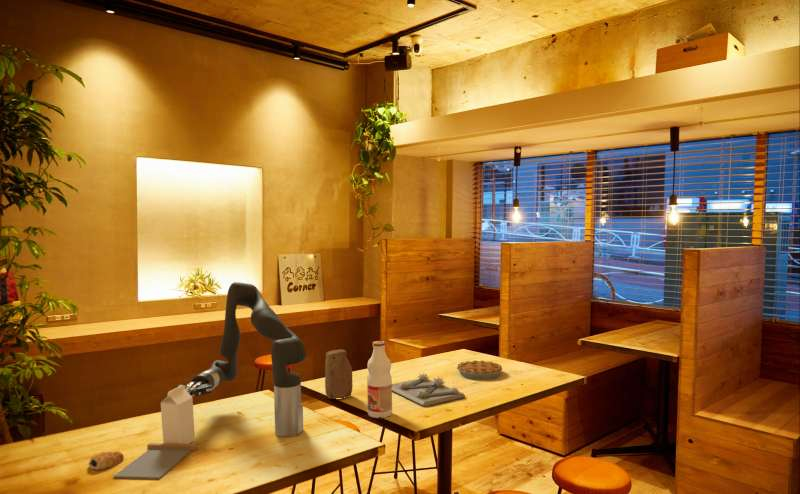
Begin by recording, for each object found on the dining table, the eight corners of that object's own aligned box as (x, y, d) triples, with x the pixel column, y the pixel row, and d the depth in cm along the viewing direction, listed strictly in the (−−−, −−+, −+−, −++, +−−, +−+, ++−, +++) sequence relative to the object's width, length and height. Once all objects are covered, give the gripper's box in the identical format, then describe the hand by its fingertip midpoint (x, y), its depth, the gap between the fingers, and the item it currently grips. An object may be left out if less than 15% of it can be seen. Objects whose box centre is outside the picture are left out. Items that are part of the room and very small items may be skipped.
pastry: (116, 456, 176) (115, 444, 176) (128, 461, 172) (128, 449, 172) (86, 467, 168) (86, 455, 167) (99, 472, 164) (98, 460, 164)
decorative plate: (385, 390, 243) (385, 374, 243) (425, 382, 255) (425, 367, 254) (424, 409, 218) (423, 391, 217) (466, 399, 229) (466, 382, 229)
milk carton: (195, 440, 187) (191, 385, 185) (180, 449, 180) (177, 392, 179) (178, 437, 189) (174, 384, 188) (163, 446, 183) (159, 391, 181)
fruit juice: (391, 418, 206) (390, 344, 205) (366, 418, 206) (365, 344, 205) (392, 410, 215) (391, 339, 214) (368, 410, 215) (367, 339, 214)
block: (330, 401, 227) (329, 353, 226) (324, 396, 233) (323, 350, 233) (354, 397, 232) (353, 350, 231) (348, 393, 238) (347, 347, 237)
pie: (506, 380, 255) (506, 369, 254) (459, 381, 255) (458, 370, 255) (498, 368, 276) (498, 358, 276) (454, 368, 277) (454, 358, 277)
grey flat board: (196, 449, 180) (196, 444, 180) (162, 479, 159) (162, 473, 159) (149, 448, 181) (149, 443, 181) (110, 477, 160) (110, 471, 160)
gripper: (188, 371, 205) (163, 385, 188) (222, 372, 204) (200, 385, 187) (188, 391, 205) (164, 406, 188) (222, 392, 204) (201, 407, 187)
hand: (182, 396), depth 187 cm, fingers closed
